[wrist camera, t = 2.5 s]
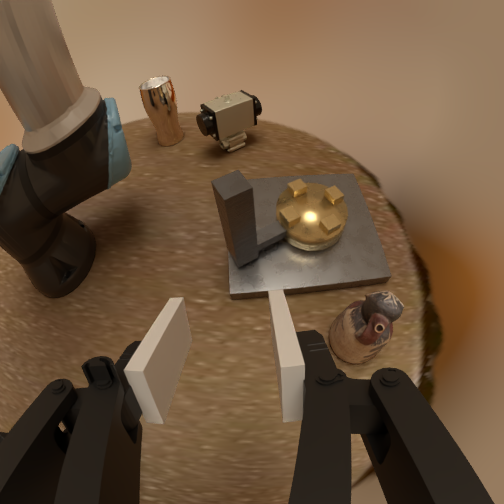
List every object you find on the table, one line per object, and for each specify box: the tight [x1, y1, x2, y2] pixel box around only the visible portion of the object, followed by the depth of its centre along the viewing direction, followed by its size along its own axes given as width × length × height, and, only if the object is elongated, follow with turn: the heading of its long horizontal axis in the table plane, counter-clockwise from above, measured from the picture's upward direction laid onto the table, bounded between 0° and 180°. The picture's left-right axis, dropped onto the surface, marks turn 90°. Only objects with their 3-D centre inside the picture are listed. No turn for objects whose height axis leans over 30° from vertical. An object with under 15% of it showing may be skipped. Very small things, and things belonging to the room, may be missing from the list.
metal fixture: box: [211, 170, 348, 268], centre depth 33 cm, size 18×10×13 cm, turn 119°
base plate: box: [228, 174, 391, 300], centre depth 41 cm, size 22×20×2 cm
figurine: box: [329, 291, 404, 363], centre depth 28 cm, size 7×7×12 cm
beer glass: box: [139, 76, 184, 146], centre depth 51 cm, size 7×7×15 cm
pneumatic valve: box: [196, 90, 262, 152], centre depth 49 cm, size 6×12×12 cm, turn 124°
